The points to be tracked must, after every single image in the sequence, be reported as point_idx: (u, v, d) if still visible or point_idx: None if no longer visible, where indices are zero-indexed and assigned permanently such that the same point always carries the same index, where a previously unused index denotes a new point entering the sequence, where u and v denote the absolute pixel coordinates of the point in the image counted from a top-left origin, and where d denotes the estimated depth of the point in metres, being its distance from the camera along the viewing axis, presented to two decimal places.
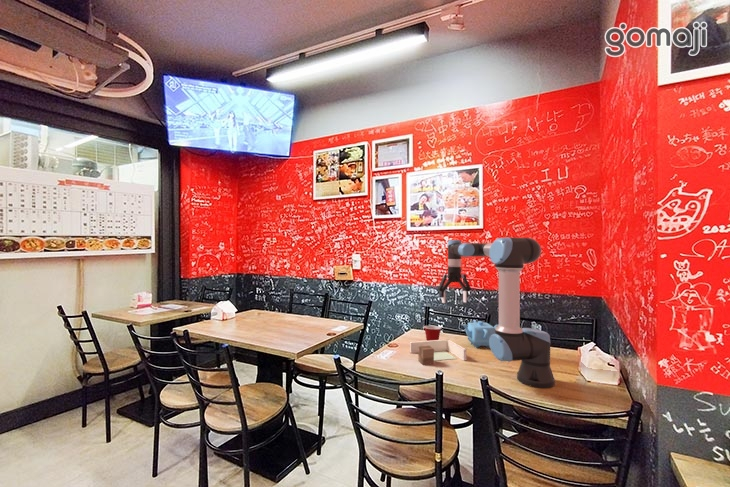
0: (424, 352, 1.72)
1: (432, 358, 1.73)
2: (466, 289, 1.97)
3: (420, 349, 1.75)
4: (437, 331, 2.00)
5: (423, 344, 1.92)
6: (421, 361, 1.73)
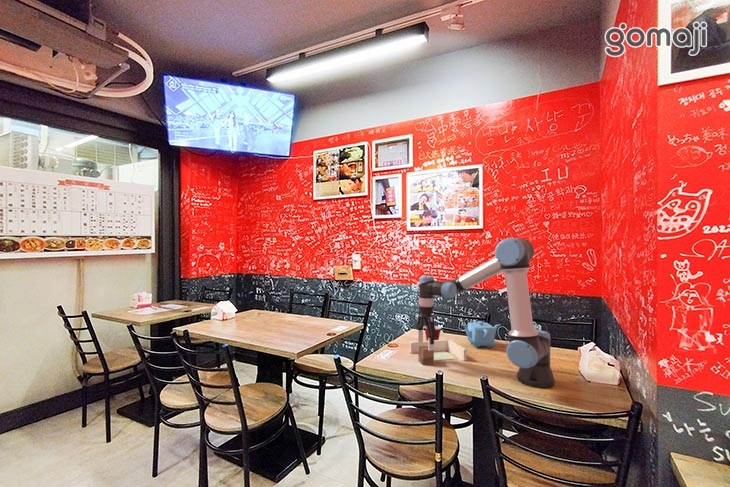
0: (424, 352, 1.72)
1: (432, 358, 1.73)
2: (429, 335, 1.68)
3: (420, 349, 1.75)
4: (437, 331, 2.00)
5: (423, 344, 1.92)
6: (421, 361, 1.73)
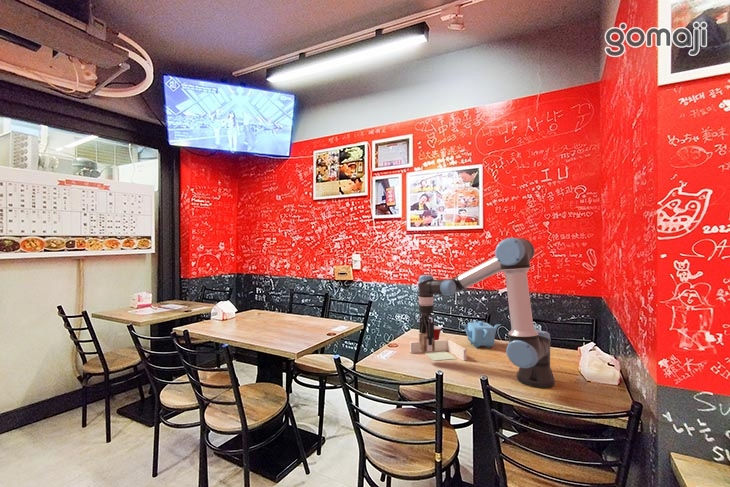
0: (425, 339, 1.72)
1: (433, 345, 1.73)
2: (427, 336, 1.71)
3: (421, 336, 1.75)
4: (437, 331, 2.00)
5: None
6: (422, 348, 1.73)
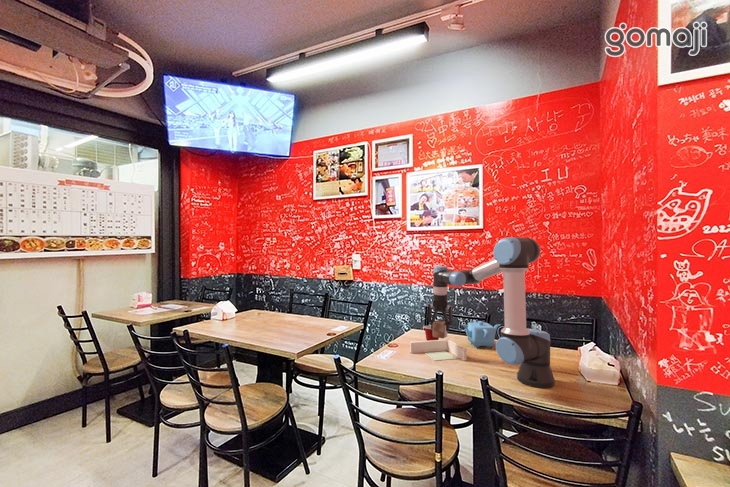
0: (444, 326, 1.83)
1: None
2: (446, 323, 1.83)
3: (437, 324, 1.84)
4: None
5: (423, 344, 1.92)
6: (440, 335, 1.83)
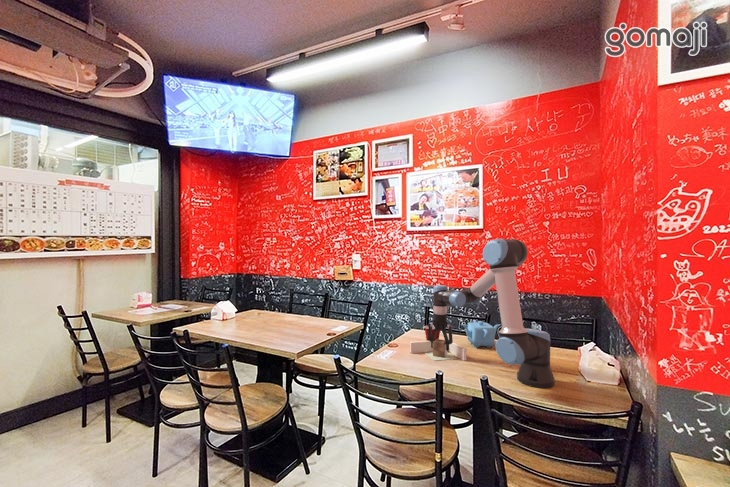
0: (444, 345, 1.82)
1: None
2: (446, 342, 1.83)
3: (437, 344, 1.83)
4: (437, 331, 2.00)
5: (423, 344, 1.92)
6: (440, 355, 1.83)
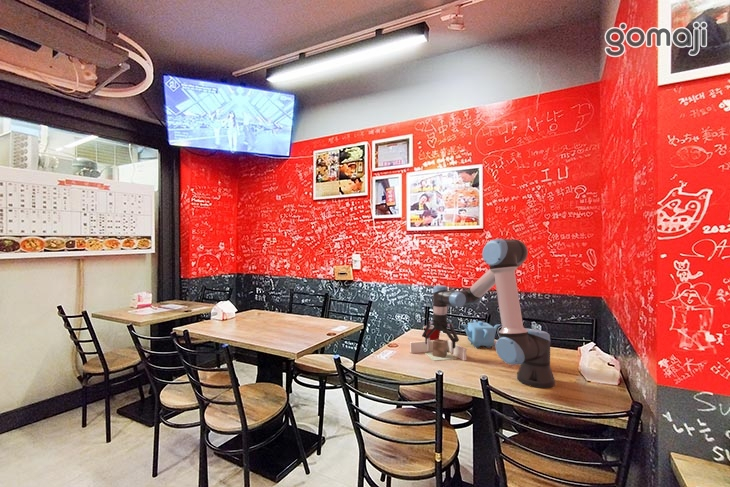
0: (444, 345, 1.82)
1: (446, 349, 1.86)
2: (452, 340, 1.81)
3: (437, 344, 1.83)
4: (437, 331, 2.00)
5: (423, 344, 1.92)
6: (440, 355, 1.83)
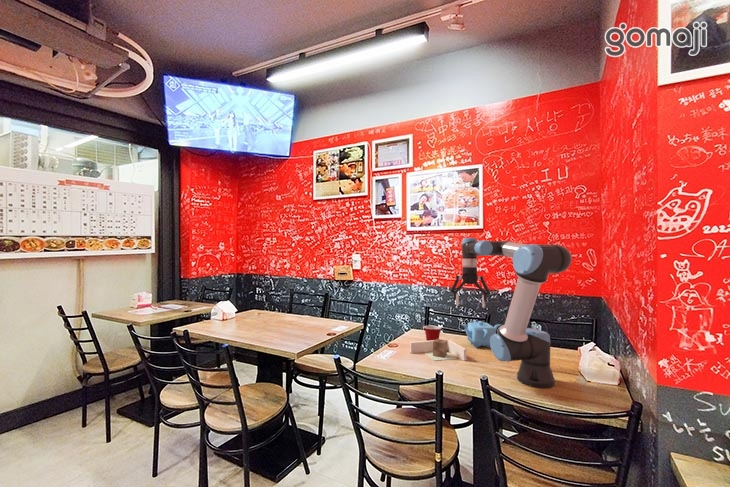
0: (444, 345, 1.82)
1: (446, 349, 1.86)
2: (483, 293, 1.75)
3: (437, 344, 1.83)
4: (437, 331, 2.00)
5: (423, 344, 1.92)
6: (440, 355, 1.83)
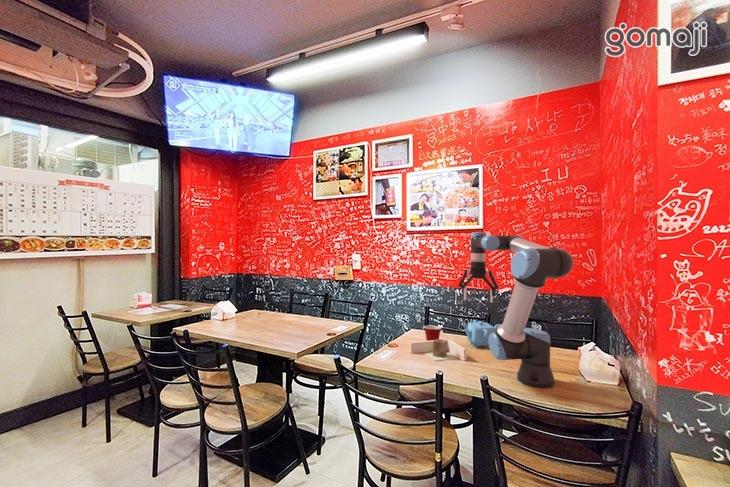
0: (444, 345, 1.82)
1: (446, 349, 1.86)
2: (491, 287, 1.74)
3: (437, 344, 1.83)
4: (437, 331, 2.00)
5: (423, 344, 1.92)
6: (440, 355, 1.83)
